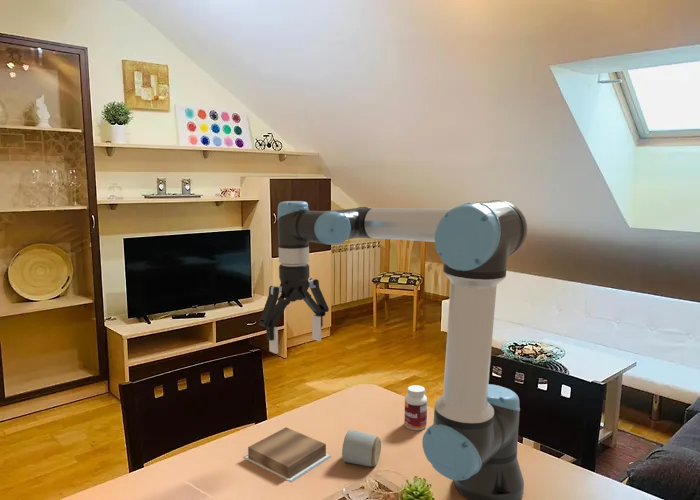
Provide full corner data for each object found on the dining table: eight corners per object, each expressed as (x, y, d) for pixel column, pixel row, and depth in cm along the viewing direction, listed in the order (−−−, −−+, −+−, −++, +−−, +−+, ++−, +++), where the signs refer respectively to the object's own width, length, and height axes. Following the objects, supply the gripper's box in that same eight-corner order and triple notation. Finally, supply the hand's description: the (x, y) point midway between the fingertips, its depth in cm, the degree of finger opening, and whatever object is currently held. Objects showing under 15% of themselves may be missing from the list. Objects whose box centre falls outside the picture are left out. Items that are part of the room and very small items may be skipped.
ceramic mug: (374, 473, 126) (374, 442, 125) (341, 467, 128) (341, 437, 127) (385, 451, 136) (385, 423, 135) (354, 446, 138) (354, 418, 137)
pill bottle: (399, 425, 149) (400, 388, 147) (414, 418, 153) (414, 382, 152) (416, 433, 145) (417, 395, 143) (431, 426, 149) (432, 388, 147)
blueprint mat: (332, 457, 133) (332, 455, 133) (291, 483, 122) (291, 482, 122) (284, 436, 143) (283, 434, 143) (242, 458, 132) (242, 457, 132)
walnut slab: (325, 455, 133) (325, 444, 133) (288, 478, 123) (288, 466, 123) (286, 437, 142) (286, 427, 141) (248, 458, 132) (248, 447, 131)
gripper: (322, 256, 144) (324, 332, 147) (242, 268, 127) (245, 353, 130) (341, 259, 138) (342, 338, 142) (260, 272, 122) (263, 361, 125)
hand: (296, 345), depth 136 cm, fingers open, 13 cm apart
